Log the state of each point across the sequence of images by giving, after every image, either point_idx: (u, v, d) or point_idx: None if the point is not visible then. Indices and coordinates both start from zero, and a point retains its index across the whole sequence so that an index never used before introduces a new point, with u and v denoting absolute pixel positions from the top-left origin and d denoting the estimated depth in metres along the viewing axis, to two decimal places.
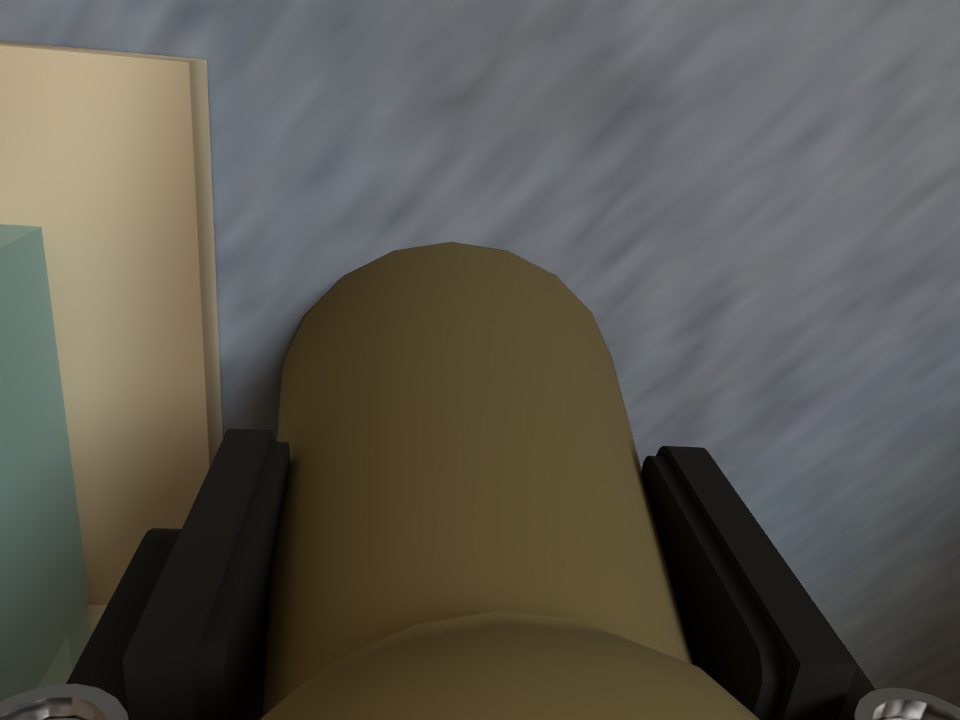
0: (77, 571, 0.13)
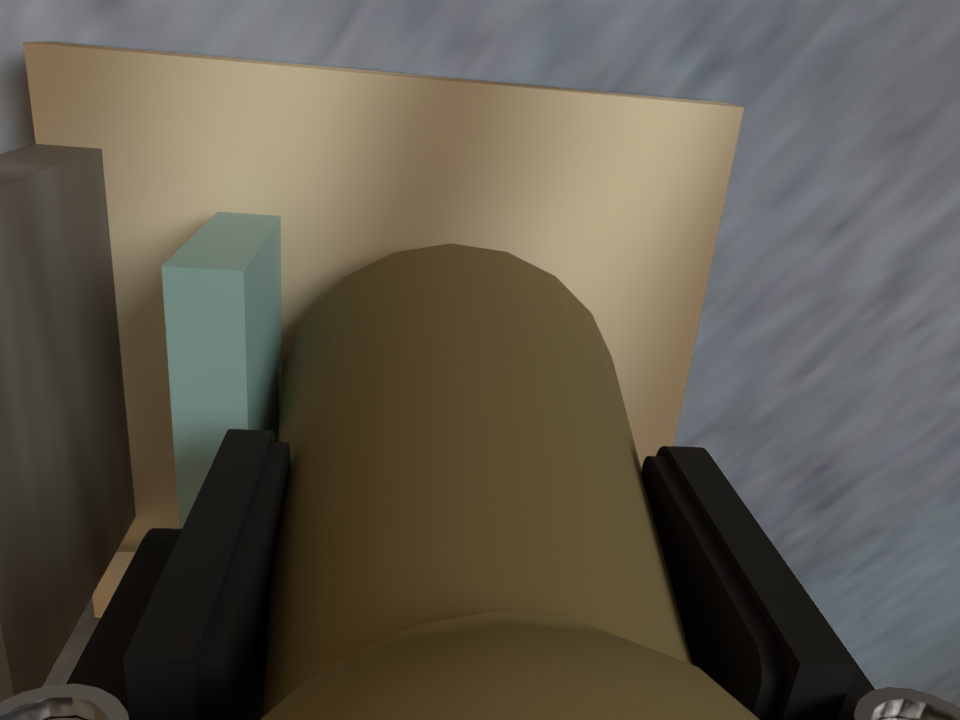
0: None
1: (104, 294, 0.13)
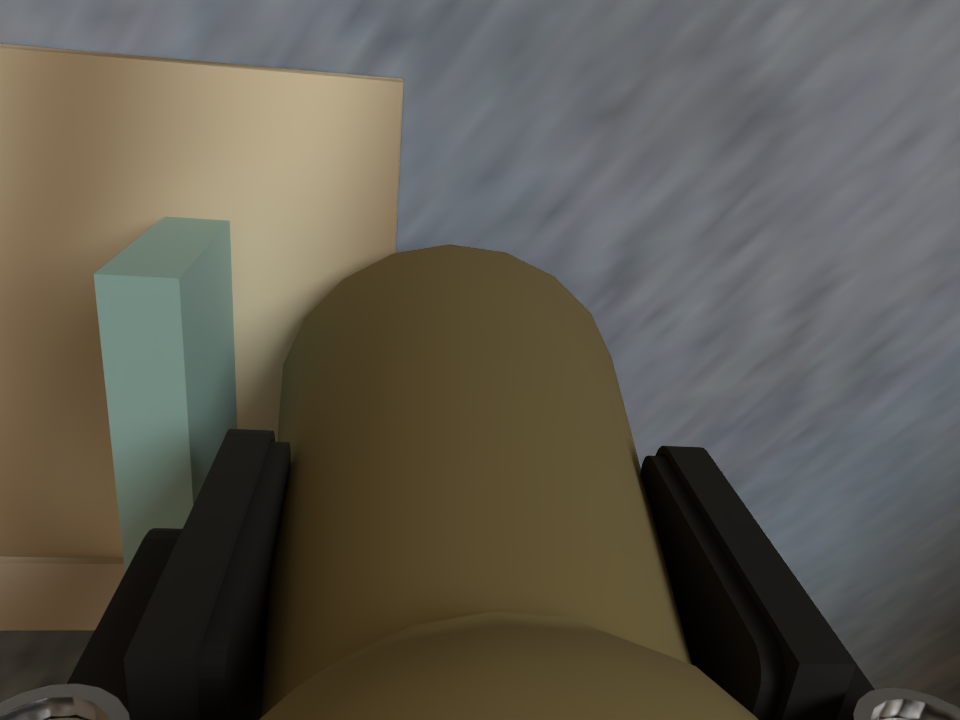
0: None
1: None
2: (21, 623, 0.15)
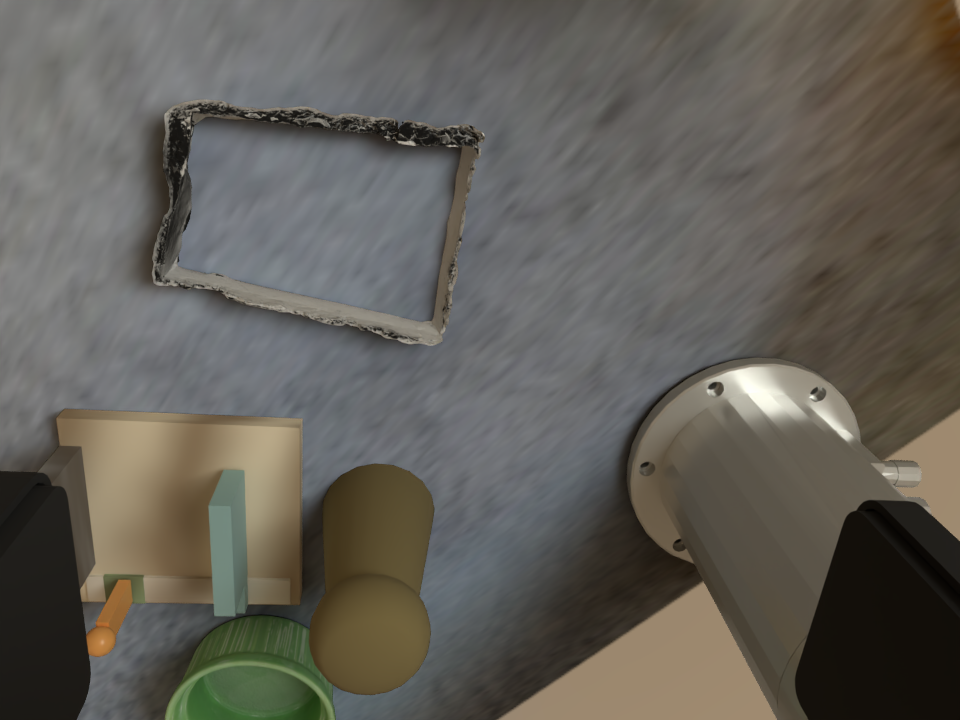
0: (246, 566, 0.41)
1: (82, 492, 0.38)
2: (167, 600, 0.42)
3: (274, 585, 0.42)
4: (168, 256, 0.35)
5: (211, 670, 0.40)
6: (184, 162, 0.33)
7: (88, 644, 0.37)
